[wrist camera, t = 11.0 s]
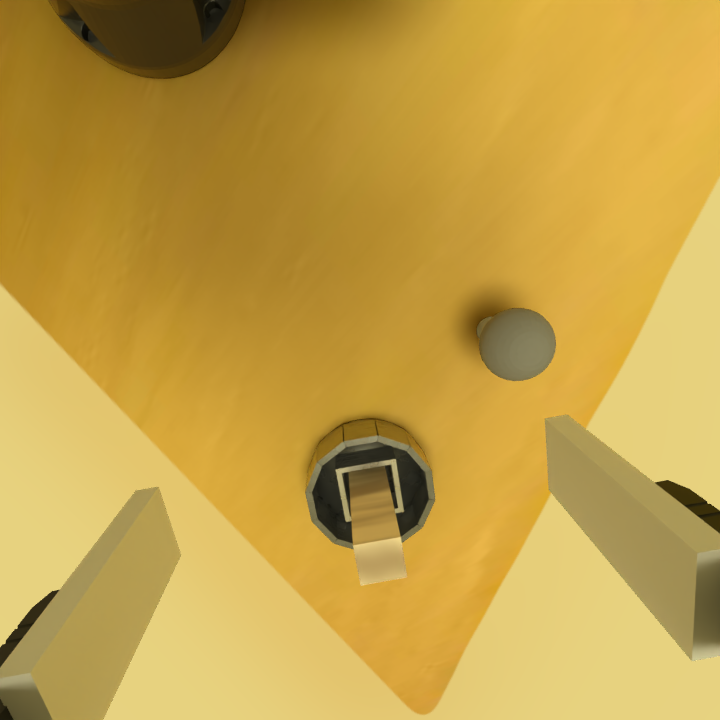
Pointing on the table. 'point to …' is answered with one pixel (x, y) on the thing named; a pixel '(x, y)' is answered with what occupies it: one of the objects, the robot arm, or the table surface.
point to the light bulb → (516, 343)
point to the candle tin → (362, 451)
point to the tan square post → (375, 527)
